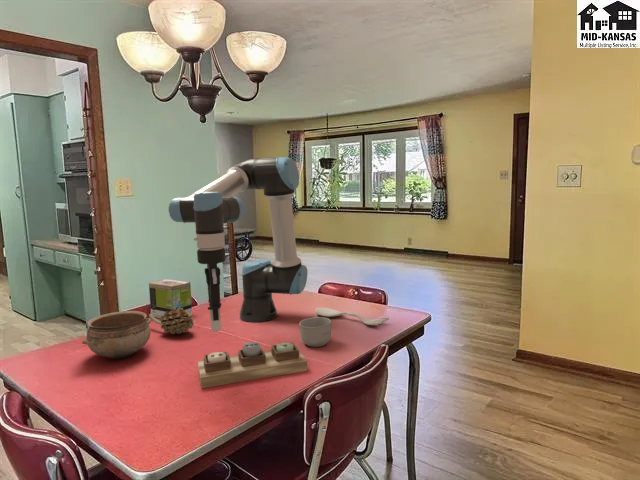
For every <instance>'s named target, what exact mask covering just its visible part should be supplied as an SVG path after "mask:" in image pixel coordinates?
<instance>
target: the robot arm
mask: <svg viewBox="0 0 640 480" xmlns="http://www.w3.org/2000/svg"><path fill="white" fill-rule="evenodd" d="M299 185H300V173H299V169H298V166H297V164H296V162H295V161H294V159H292V158H291V157H286V156H282V157H281V156H276V157H275V156H273V157H259V158H258V157H257V158H255V157H254V158H250V159H246V160H243V161H241V162H239V163H238V164H235V165H234V166H232V167H230V168H228V169H227V170H226V171H225V172H224V174H223V175H222V176H219V178H217V179H214V181H212V182H210V183H209V184H207V185H205V186H203V187H202V188H200V189H198V190H197V191H195V192H193V193H191V194H190V195H188V196H186V197H185V196H184V197H182V196H180V197H175V198H173V199H171V200H170V202H169V203H168V204H169V205H168V213H169V217H170V218H171V220H172V221H174V222H176V223H183V224H186V223H187V224H188V223H189V224H190V223H192V224H193V223H194V224H195V225H194V226H195V237H193V241H194V242H196V248H197V250H196V254H197V256H196V257H197V258H196V259H197V262H198V263H199V264H201V265H206V268H204V275H205V280H206V281H205V282H206V285H207V294H208V301H207V302H208V303H209V304H208V305H209V306H207V311H209V317H210V321H209V323H210V331H211V332H218V331H219V332H220V331H222V320H221V319H222V318H221V307H222V303H221V286H220V284H221V277H220V276H221V269H220V267H219V266H218V264H222V263H224V262H225V261H226V249H225V248H224V247H225V246H226V241H225V240H226V239H225V229H224V224H230V223H235V222H237V221H239V220H241V219H242V218H243V217H244V216H245V213H246V207H245V203H244V201H243V200H242V199H241V198H239V197H237V196H234V195H235V194H238V193H239V194H240V193H243V192H245V191H250V190H263V196H264V197H266V199H268V204H269V213H270V214H269V215H270V222H271V231H272V240H273V241H272V243H273V251H274V259H273V260H272V261H271V260H270V259H259V260H254V261H251V262H250V261H249V262H247V263H244V264H243V266H242V271H241V272H242V273H241V277H242V295H243V296H242V297H243V300H242V303H241V307H240V310H239V319H240V320H241V321H244V322H250V323H254V322H255V323H259V322H266V321H270V320H273V319H275V318H276V317H277V315H278V313H277V307H276V305H275V301H274V299H273V294H280V295H281V294H283V295H300V294H302V292H303V291H304V290H305V287H306V286H307V281H308V268H307V266H306V265H304V264H302V259H301V258H300V257H299V256H297V255H298V254H297V253H298V252H297V244H296V232H295V222H294V214H293V213H294V212H293V203H292V197H293V196H294V195H295V193H296V191H295V190H296V189H297V188H298V187H299Z"/></svg>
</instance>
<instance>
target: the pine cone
mask: <svg viewBox="0 0 640 480" xmlns="http://www.w3.org/2000/svg"><path fill="white" fill-rule="evenodd" d="M148 318H150V319H151V322H154V323H156V324H158V325H159V326H160V329H163V333H165V334H171V335H175V334H178V335H180V334H182V333H187V332H189V330H190V329H192V328H193V327H194V326H195V323H194V318H193V317H192V316H191V314H189V313H187V310H186V311H184V310H183V308H178V309H177V310H176V309H172V311H170V312H168V311H167V312H166V313H165V314H164V315H162V316H161V318H159V319H158V318H157V317H153V315H151V313H149V314H148Z"/></svg>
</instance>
